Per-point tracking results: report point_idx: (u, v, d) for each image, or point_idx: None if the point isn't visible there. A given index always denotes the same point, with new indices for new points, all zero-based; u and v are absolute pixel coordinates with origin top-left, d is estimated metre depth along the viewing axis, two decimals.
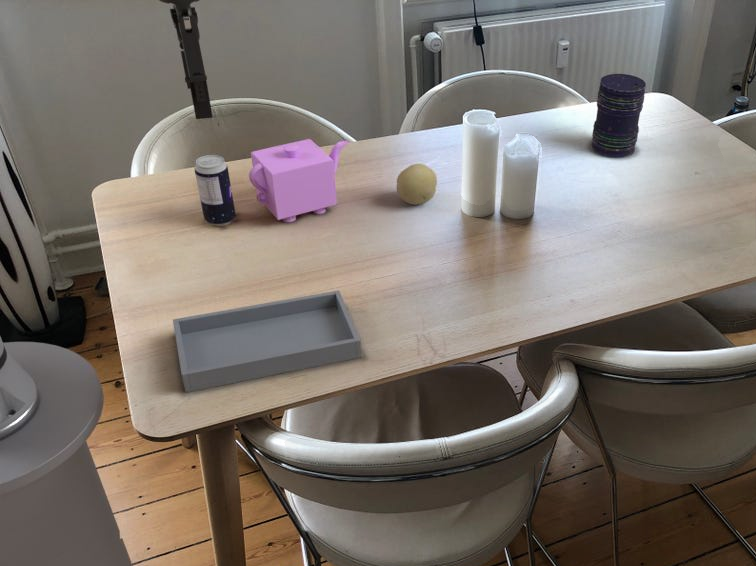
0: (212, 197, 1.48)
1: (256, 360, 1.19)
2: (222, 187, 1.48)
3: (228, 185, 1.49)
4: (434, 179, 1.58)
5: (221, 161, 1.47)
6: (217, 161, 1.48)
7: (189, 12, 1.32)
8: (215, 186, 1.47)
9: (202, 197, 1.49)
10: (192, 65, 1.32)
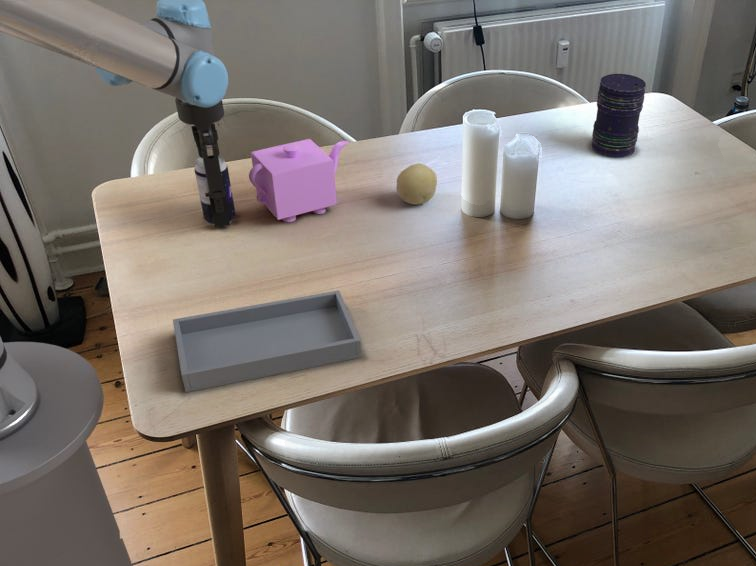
0: None
1: (256, 360, 1.19)
2: None
3: (228, 185, 1.49)
4: (434, 179, 1.58)
5: (221, 161, 1.47)
6: None
7: (210, 132, 1.40)
8: None
9: (202, 197, 1.49)
10: (213, 185, 1.43)
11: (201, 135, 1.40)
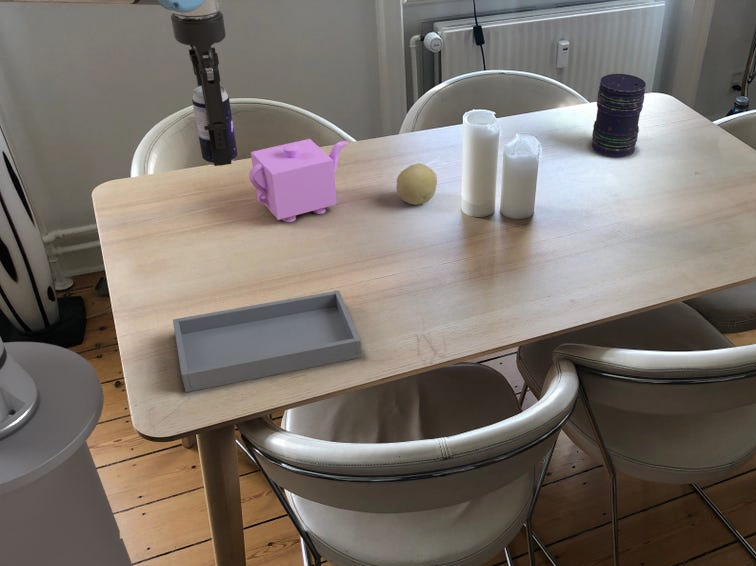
0: None
1: (256, 360, 1.19)
2: None
3: (229, 118, 1.34)
4: (434, 179, 1.58)
5: (222, 91, 1.32)
6: None
7: (210, 54, 1.25)
8: None
9: (200, 132, 1.34)
10: (213, 115, 1.28)
11: (200, 57, 1.25)
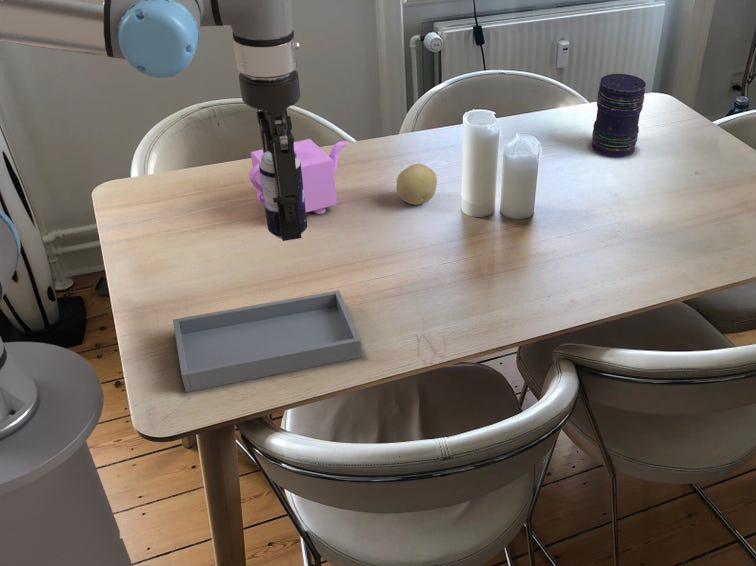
0: None
1: (256, 360, 1.19)
2: None
3: (301, 187, 1.17)
4: (434, 179, 1.58)
5: None
6: None
7: (284, 119, 1.08)
8: None
9: (268, 203, 1.17)
10: (285, 188, 1.11)
11: (272, 123, 1.07)
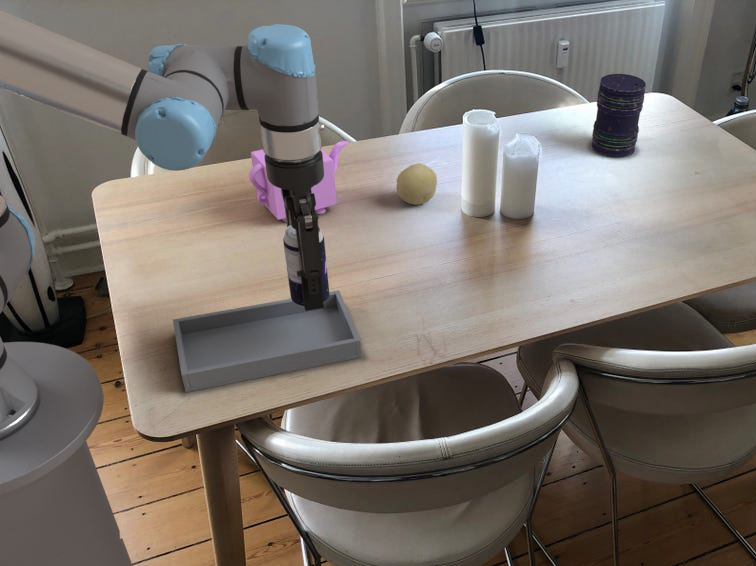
0: None
1: (256, 360, 1.19)
2: None
3: (324, 259, 1.19)
4: (434, 179, 1.58)
5: None
6: None
7: (308, 198, 1.10)
8: None
9: (291, 274, 1.19)
10: (309, 264, 1.13)
11: (297, 202, 1.09)
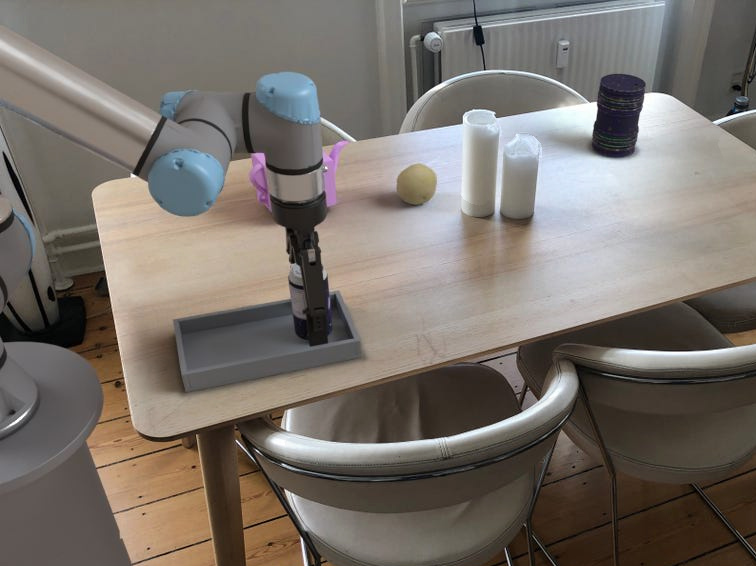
0: None
1: (256, 360, 1.19)
2: None
3: (327, 296, 1.23)
4: (434, 179, 1.58)
5: None
6: None
7: (312, 237, 1.13)
8: None
9: (296, 311, 1.23)
10: (314, 300, 1.14)
11: (301, 239, 1.13)
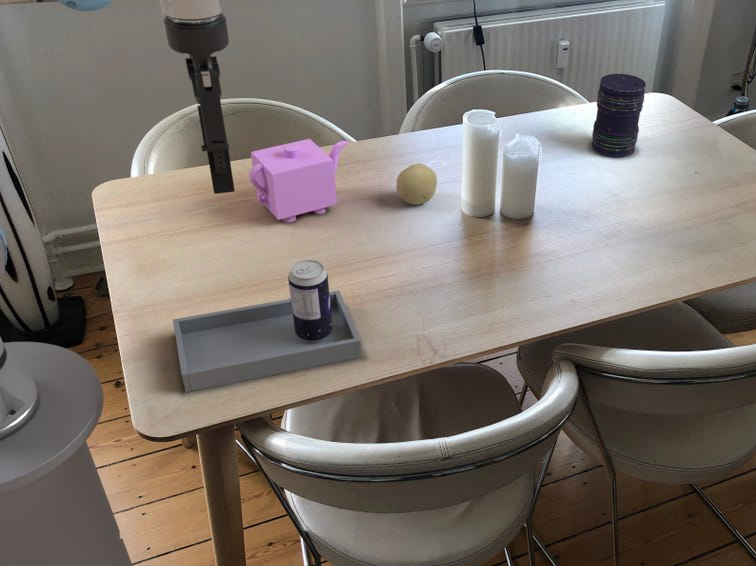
0: (308, 311, 1.22)
1: (256, 360, 1.19)
2: (321, 300, 1.22)
3: (327, 296, 1.23)
4: (434, 179, 1.58)
5: (320, 268, 1.21)
6: (315, 268, 1.21)
7: (209, 65, 1.05)
8: (314, 299, 1.21)
9: (296, 311, 1.23)
10: (211, 131, 1.05)
11: (197, 64, 1.05)
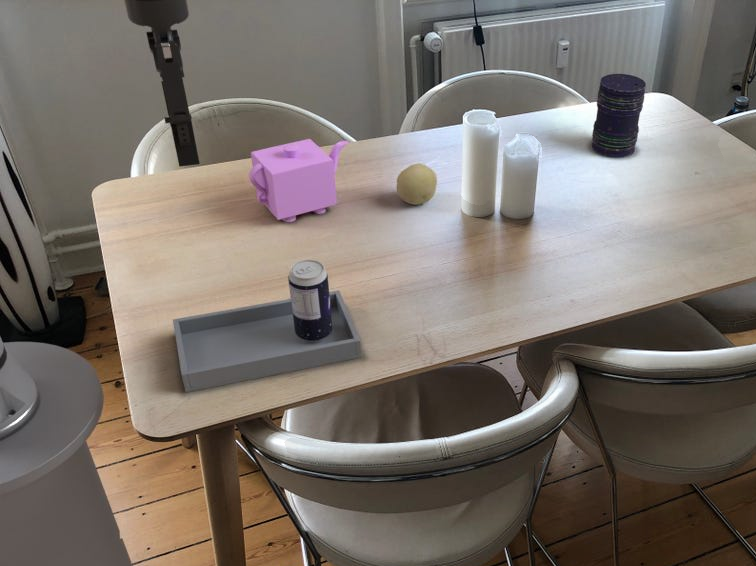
0: (308, 311, 1.22)
1: (256, 360, 1.19)
2: (321, 300, 1.22)
3: (327, 296, 1.23)
4: (434, 179, 1.58)
5: (320, 268, 1.21)
6: (315, 268, 1.21)
7: (169, 37, 1.06)
8: (314, 299, 1.21)
9: (296, 311, 1.23)
10: (173, 103, 1.06)
11: (157, 37, 1.06)
